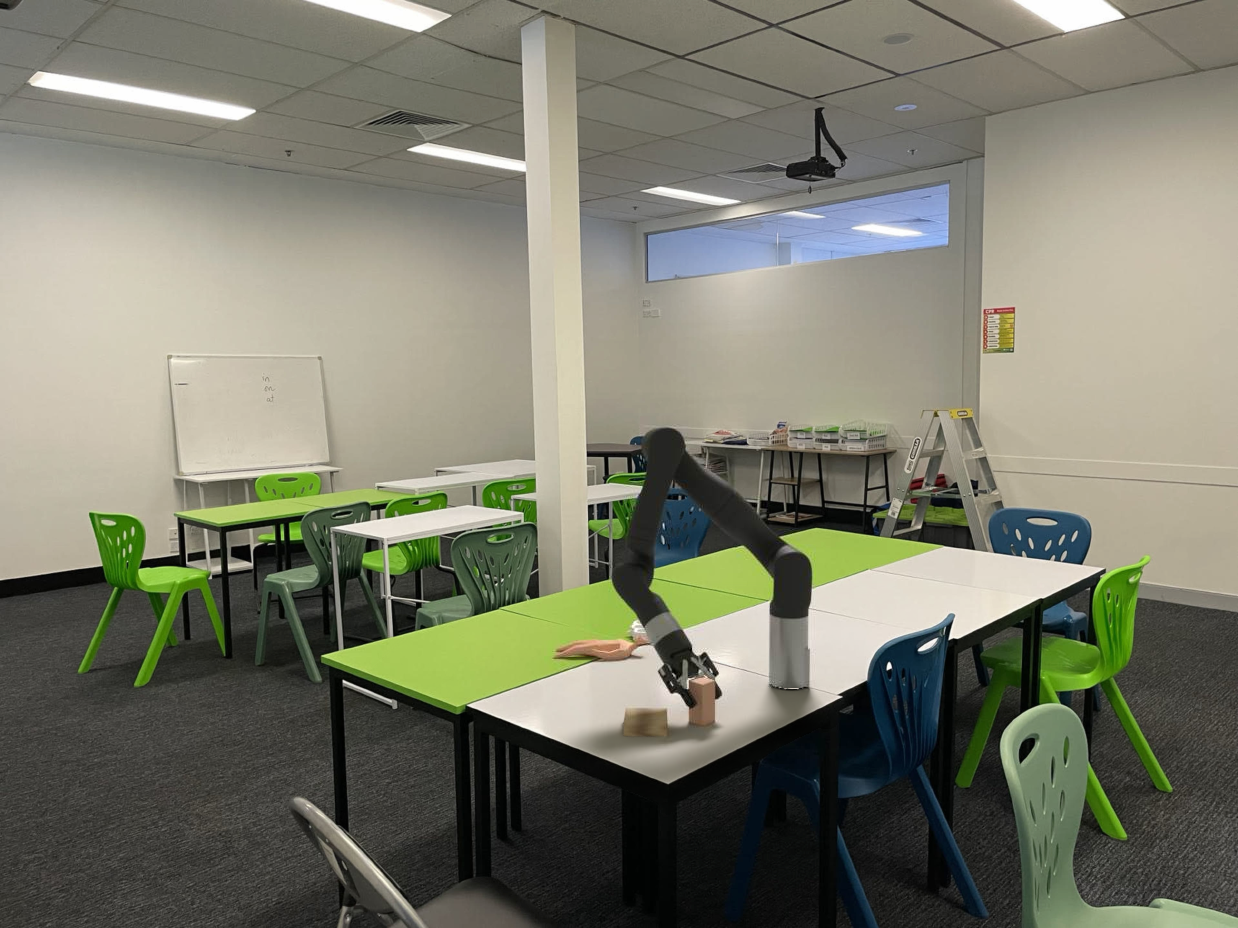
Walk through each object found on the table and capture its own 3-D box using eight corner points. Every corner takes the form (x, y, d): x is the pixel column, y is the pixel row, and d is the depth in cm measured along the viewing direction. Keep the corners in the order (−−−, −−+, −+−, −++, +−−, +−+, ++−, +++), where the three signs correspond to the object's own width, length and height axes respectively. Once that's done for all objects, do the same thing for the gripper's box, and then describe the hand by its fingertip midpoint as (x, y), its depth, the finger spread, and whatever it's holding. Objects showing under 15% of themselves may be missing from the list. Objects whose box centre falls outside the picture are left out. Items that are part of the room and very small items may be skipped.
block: (701, 716, 189) (701, 676, 189) (715, 721, 186) (715, 680, 186) (688, 721, 187) (688, 680, 186) (702, 726, 184) (702, 684, 183)
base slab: (667, 721, 187) (667, 708, 187) (667, 738, 178) (667, 724, 178) (625, 721, 188) (625, 708, 188) (623, 738, 179) (623, 724, 179)
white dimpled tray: (674, 646, 243) (622, 644, 245) (679, 628, 261) (631, 626, 263) (674, 634, 243) (622, 632, 245) (679, 617, 260) (631, 616, 263)
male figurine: (556, 637, 240) (646, 630, 239) (558, 655, 241) (648, 647, 239) (552, 649, 229) (646, 641, 228) (554, 667, 230) (647, 660, 229)
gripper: (653, 634, 186) (693, 701, 178) (698, 622, 195) (738, 685, 188) (636, 653, 190) (674, 719, 182) (681, 640, 200) (719, 702, 192)
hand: (706, 702), depth 185 cm, fingers open, 7 cm apart
